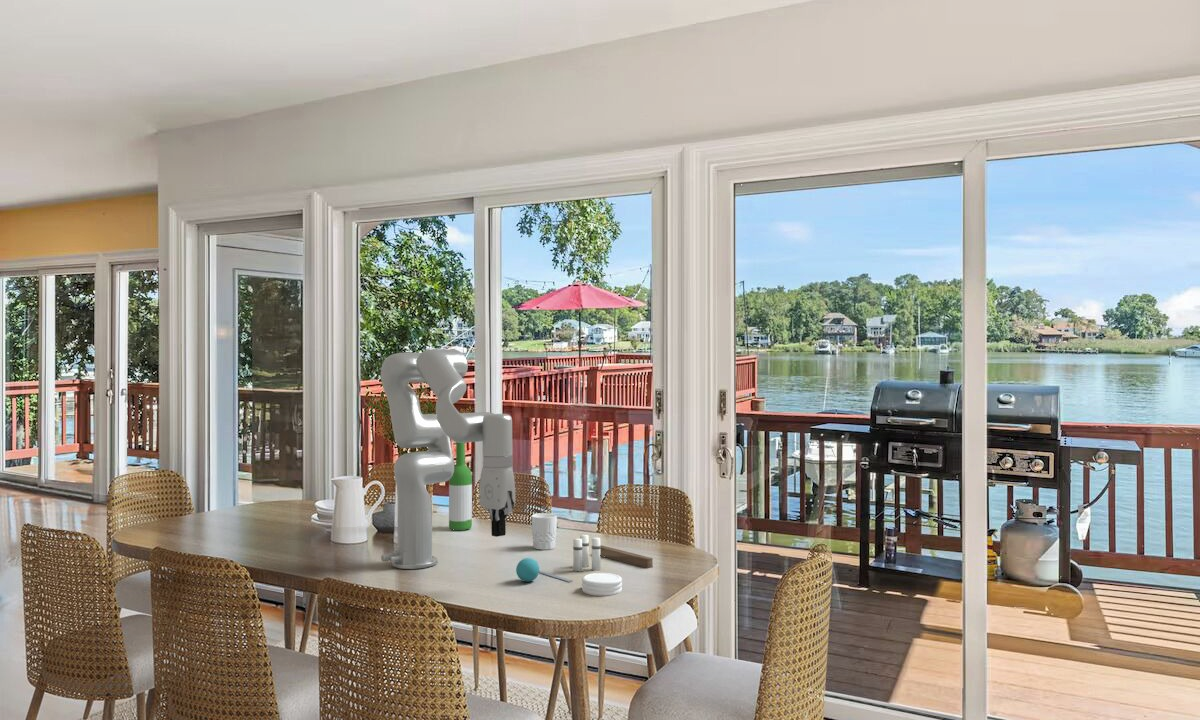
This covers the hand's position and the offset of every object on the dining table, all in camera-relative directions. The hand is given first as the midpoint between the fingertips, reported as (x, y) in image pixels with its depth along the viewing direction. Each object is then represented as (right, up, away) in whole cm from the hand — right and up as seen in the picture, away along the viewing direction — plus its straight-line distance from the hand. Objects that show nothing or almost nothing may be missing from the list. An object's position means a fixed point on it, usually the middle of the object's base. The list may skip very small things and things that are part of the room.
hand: (498, 535), depth 204 cm
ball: (+7, -10, +7) cm, 14 cm away
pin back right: (+25, -14, +19) cm, 34 cm away
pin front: (+20, -14, +18) cm, 30 cm away
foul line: (+13, -13, +12) cm, 22 cm away
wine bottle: (-22, -14, +74) cm, 79 cm away
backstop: (+32, -14, +29) cm, 45 cm away
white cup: (+8, -14, +45) cm, 48 cm away
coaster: (+26, -14, -2) cm, 30 cm away
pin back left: (+21, -14, +23) cm, 34 cm away
